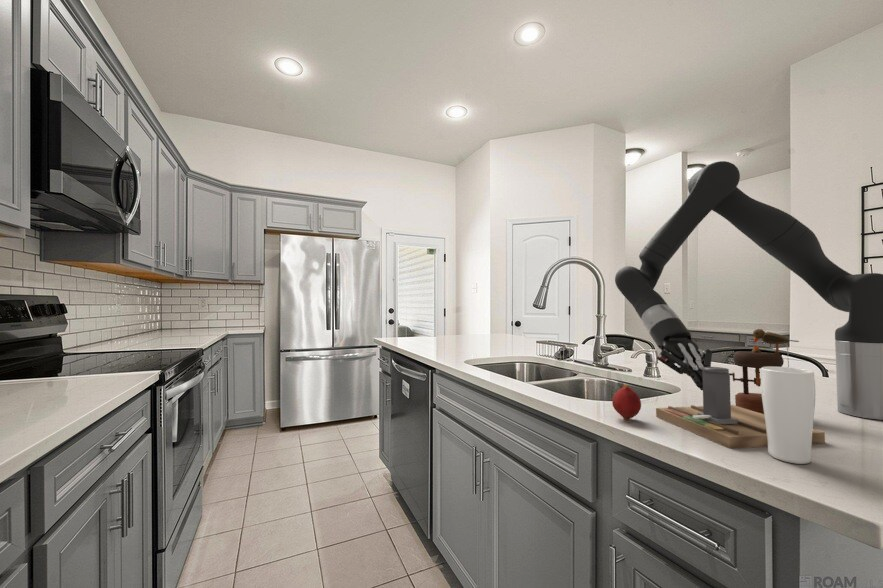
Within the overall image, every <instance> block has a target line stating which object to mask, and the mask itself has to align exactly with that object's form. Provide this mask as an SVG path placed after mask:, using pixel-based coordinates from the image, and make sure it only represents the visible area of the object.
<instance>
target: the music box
mask: <svg viewBox="0 0 883 588" xmlns="http://www.w3.org/2000/svg"><path fill="white" fill-rule="evenodd" d="M752 335H753V337H754V339H753V344H755V343H756V342H757V341H758V340H760V339H761V340H762V342H764V343H765V344H770V345H775V351H774V353H773V352H762V351H761V348H760V346H759V345H757V346H755V345H753V348H752V350H751V351H736V352H735V353H734V354H733V359H732V360H733V362H734V363H735V365H736V366H737V367H741V369H742V377H740V378H736V377H735V376H736V374H735V372H732V373H730V372H729V373H730V376H732V381H733V382H735V381H738V382H741V383H742V387H743V392H738V393H737V394H735V395H734V396H735V397H734V399H735V406H738V407H741V408H744V409H748V410H751V411H755V412H758V413H761V414H764V410H763V402H762V395H761V393H759V392H758V393H757V392H749V382H751V383H753V384H754V385H756V386H755V387H758V388H761V368H762V367H769V366H772V367H784V366H783V365H784V362H785V361H784V360H785V359H784V358H783V356H782V355H781V351H780V350H779V345H784V344H785V346H786V351H787V356H789V347H790V346H788V345H787V343H789V342H795V343H799V342H800V341H799V340H792V339H789V338H787V337H785V336H784V335H781V334H778V333H776V332H771V331H767V332H765V330H763V329H760V328H757V329H754V330H753V332H752ZM789 364H790V363H789V359H787V367H789V368H790V365H789ZM748 368H751V369H752V368H754V372H755V377H753V379H749V372H748V371H749V369H748Z"/></svg>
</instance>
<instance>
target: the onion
mask: <svg viewBox="0 0 883 588" xmlns="http://www.w3.org/2000/svg"><path fill="white" fill-rule="evenodd" d="M621 386H622V388H619V389H618V390H616V391H615V393H614V394H613V397H612V400H611V402H612V404H611V405H612V407H613V409H614V410H615V412H616V413H617V414H618V415H620V417H622V418H623V419H624V420H626V421H629V420H630V419H633V418H634V417H636V416H637V415H638V414H639V413H640V411H641V407H642V400H641V398H640V397H639V394H638V393H637V392H636V391H635V390H634V389H632V388H631V387H630V386H629V385H628V384H625V383H624V384H622V385H621Z"/></svg>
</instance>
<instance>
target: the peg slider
mask: <svg viewBox="0 0 883 588" xmlns="http://www.w3.org/2000/svg"><path fill="white" fill-rule="evenodd" d="M729 370H730V369H729V368H726V367H720V366H719V367H718V366H711V367H703V371H702V373H703V390H702V406H703V413H697V415H694V416H692V418H695V419H701V418H704V419H707V420H709V421H712V422H715V423H717V424H738V419H735V418H732V417H731V405H732V404H731V375H730V372H729Z"/></svg>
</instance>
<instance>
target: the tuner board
mask: <svg viewBox="0 0 883 588" xmlns="http://www.w3.org/2000/svg"><path fill="white" fill-rule="evenodd" d="M697 413H703V405H701V406H698V405H697V406H696V405H694V404H692V405H690V406H675V407H674V406H671V405H669V406H668V407H656V408H655V417H656V418H658V419H660V420H663V421H665V422H667V423H670V424H672V425H674V424H675V425H674V426H676V427H679V428H681V429H684V430H686V431H688V430H689V432H691V433H693V434H695V433H696V435H697V434H698V436H701V437H702V438H705V439H707V440H709V441H712V442H714V443H717V444H719V445H721V446H723V447H726V448H728V449H741V448H742V449H743V448H760V447H762V448H763V447H768V440H767V432H766V424H765V417H764V414H761V413H758V412H755V411H751V410H748V409H744V408H741V407H738V406H736V405H733V404H731V417H732V418H735V419H738V424H717V423H715V422H712V421H709V420H707V419H704V418H701V419H695V418H692V416H694V415H697ZM825 434H826V433H825V431H822V430H818V429H814V428H813V432H812V445H815V444H816V443H817V444H826V435H825Z"/></svg>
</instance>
